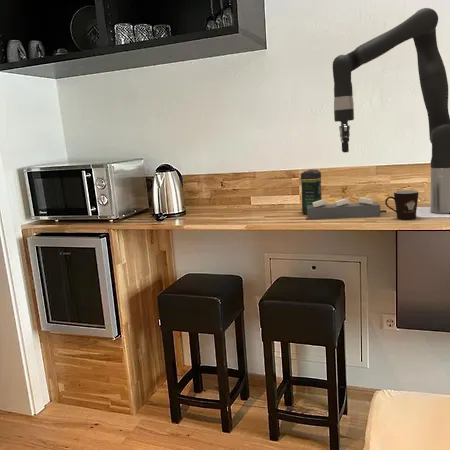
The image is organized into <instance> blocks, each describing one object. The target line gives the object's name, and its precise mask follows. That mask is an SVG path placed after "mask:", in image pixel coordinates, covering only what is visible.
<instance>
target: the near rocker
mask: <svg viewBox="0 0 450 450" xmlns="http://www.w3.org/2000/svg"><path fill="white" fill-rule="evenodd" d="M373 202H375V201H374V199H373V198H368V197H361V196H359V197H358V203H367V204H372V205H373Z"/></svg>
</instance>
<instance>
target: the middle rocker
mask: <svg viewBox="0 0 450 450" xmlns="http://www.w3.org/2000/svg"><path fill="white" fill-rule="evenodd" d="M347 203H351V201H350V198H349V197H345V198H342V199H338V200H336V201H335V204H336V205H337V206H340V205H343V204H347Z"/></svg>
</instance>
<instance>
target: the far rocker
mask: <svg viewBox="0 0 450 450" xmlns="http://www.w3.org/2000/svg"><path fill="white" fill-rule="evenodd" d="M324 204H325V205H326V204H327V200H326V198H322V200H319V201H316V202H313V207H317V206H321V205H324Z"/></svg>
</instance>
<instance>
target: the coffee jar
mask: <svg viewBox="0 0 450 450" xmlns="http://www.w3.org/2000/svg"><path fill="white" fill-rule="evenodd" d="M300 184H301V212H302V214H303V215H307V205H313V202H316V201H319V200H322V199H323V198H322V172H321V171H320V170H318V169H308V170H306V171H303V172H301V173H300Z"/></svg>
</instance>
